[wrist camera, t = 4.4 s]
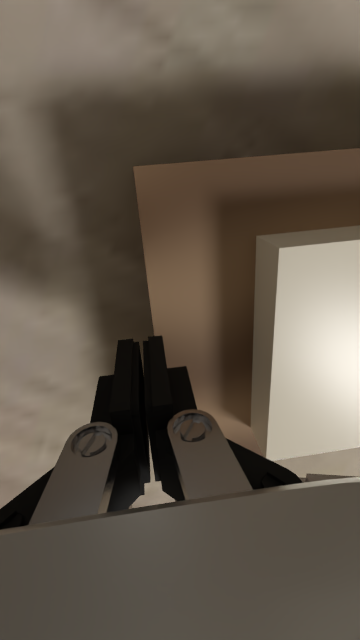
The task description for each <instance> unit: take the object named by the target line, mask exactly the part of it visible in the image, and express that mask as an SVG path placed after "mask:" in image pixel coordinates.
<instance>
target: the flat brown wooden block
mask: <svg viewBox="0 0 360 640" xmlns="http://www.w3.org/2000/svg"><path fill="white" fill-rule="evenodd" d="M133 171H134V179H135V187H136V195H137V203H138V210H139V218H140V226H141V234H142V242H143V250H144V258H145V266H146V274H147V282H148V290H149V298H150V306H151V314H152V322H153V330H154V336H161V335H162V337H163V344H164V350H165V357H166V364H167V368H173V367H181V366H186V367H187V370H188V374H189V378H190V382H191V386H192V390H193V394H194V398H195V402H196V406H197V410H202V411H205V412H207V413H209V414H210V415H212V416H213V417H214V419H215V420H216V422H217V423H218V425H219V427H220V429H221V431H222V433H223V435H224V436H225V438H227V439H229V440H231V441H233V442H235V443H237V444H239V445H241V446H243V447H245V448H247V449H249V450H251V451H253V452H255V453H257V454H259V455H261V456H263V454H262V452H261V450H260V448H259V445H258V443H257V441H256V438H255V436H254V434H253V432H252V429H251V396H252V364H253V331H254V298H255V265H256V236H260V235H270V234H280V233H289V232H299V231H309V230H319V229H329V228H339V227H349V226H359V225H360V148H353V149H341V150H328V151H316V152H304V153H292V154H279V155H267V156H255V157H242V158H230V159H218V160H206V161H193V162H181V163H169V164H156V165H144V166H133Z"/></svg>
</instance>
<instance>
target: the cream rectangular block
mask: <svg viewBox="0 0 360 640" xmlns="http://www.w3.org/2000/svg"><path fill="white" fill-rule="evenodd" d="M251 429H252V432H253V434H254V436H255V438H256V441H257V443H258V445H259V448H260V450H261V452H262V454H263V457H265V458H267V459H269V460H271V461H276V460H282V459H288V458H295V457H301V456H307V455H313V454H320V453H326V452H332V451H339V450H345V449H351V448H358V447H360V225H359V226H349V227H339V228H329V229H319V230H309V231H299V232H289V233H280V234H270V235H260V236H256V265H255V298H254V331H253V364H252V396H251Z"/></svg>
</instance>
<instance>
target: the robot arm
mask: <svg viewBox="0 0 360 640" xmlns="http://www.w3.org/2000/svg"><path fill="white" fill-rule="evenodd" d="M143 356H144V375H143V368H142V361H141V354H140V346H139V342H133V339H126V340H118V346H117V354H116V362H115V371H114V375H108V376H100V377H99V380H98V385H97V390H96V395H95V401H94V406H93V411H92V416H91V421H90V423H89V424H86V425H83V426H82V427H80V428H78V429H77V430H75V431H74V432H73V433H72V434H71V435H70V436H69V438H68V440H67V441H66V443H65V445H64V448H63V450H62V452H61V454H60V456H59V459H58V461H57V463H56V465H55V467H54V468H52V469H51V470H50V471H48V472H47V473H46V474H45V475H43V476H42V477H41V478H39V479H38V480H37V481H36V482H34V483H33V484H32V485H31V486H29V487H28V488H27V489H25V490H24V491H23V492H22V493H20V494H19V495H18V496H17V497H15V498H14V499H13V500H11V501H10V502H9V503H8V504H6V505H5V506H4V507H2V508H1V509H0V640H360V477H355V476H339V475H322V474H307V475H306V478H300V477H298V476H297V475H296V474H294V473H293V472H291V471H290V470H288V469H286V468H284V467H282V466H280V465H278V464H276V463H274V462H273V461H271V460H269V459H267V458H265V457H263V456H261V455H259V454H257V453H255V452H253V451H251V450H249V449H247V448H245V447H243V446H241V445H239V444H237V443H235V442H233V441H231V440H229V439H227V438H225V436H224V435H223V433H222V431H221V429H220V427H219V425H218V423H217V422H216V420H215V419H214V417H213V416H212V415H210V414H209V413H207V412H205V411H202V410H197V406H196V402H195V398H194V394H193V390H192V386H191V382H190V378H189V374H188V370H187V367H186V366H181V367H173V368H167V364H166V357H165V350H164V344H163V337H162V335H161V336H152V337H148V341H143ZM149 439H150V446H151V453H152V460H153V467H154V474H155V481H161V483H162V490H163V491H164V492H165V493H167V494H168V495H169V496H171V497H172V498H174V499H175V502H171V503H164V504H158V505H152V506H145V507H139V508H132V504H133V502H134V501H135V500H136V499H137V498H138V497H139V496H140V495H144V483H149V482H150V457H149Z"/></svg>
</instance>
